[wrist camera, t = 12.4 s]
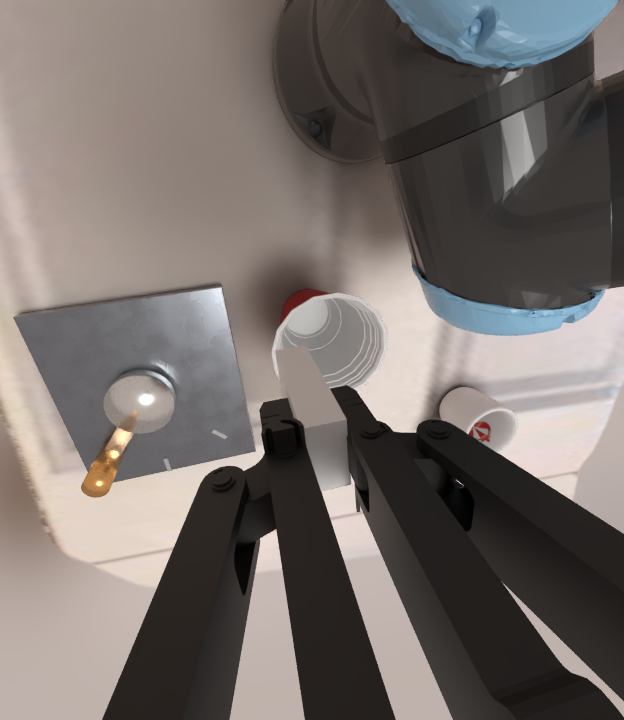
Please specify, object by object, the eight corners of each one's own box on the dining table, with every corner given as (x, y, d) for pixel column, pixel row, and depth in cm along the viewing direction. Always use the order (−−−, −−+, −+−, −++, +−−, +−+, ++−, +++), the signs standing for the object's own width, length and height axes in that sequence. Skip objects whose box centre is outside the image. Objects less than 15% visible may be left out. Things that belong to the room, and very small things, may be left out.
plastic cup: (260, 357, 43) (271, 408, 32) (260, 267, 38) (272, 292, 28) (344, 355, 45) (381, 402, 34) (353, 270, 41) (398, 293, 30)
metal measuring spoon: (125, 359, 38) (107, 385, 32) (187, 386, 40) (180, 415, 35) (77, 447, 40) (53, 486, 35) (138, 467, 43) (124, 506, 38)
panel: (21, 313, 35) (12, 317, 34) (221, 284, 38) (221, 287, 37) (98, 478, 45) (94, 487, 43) (254, 444, 48) (255, 452, 46)
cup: (426, 443, 54) (455, 479, 47) (407, 408, 51) (436, 442, 44) (485, 407, 54) (524, 438, 47) (471, 369, 51) (511, 396, 43)
